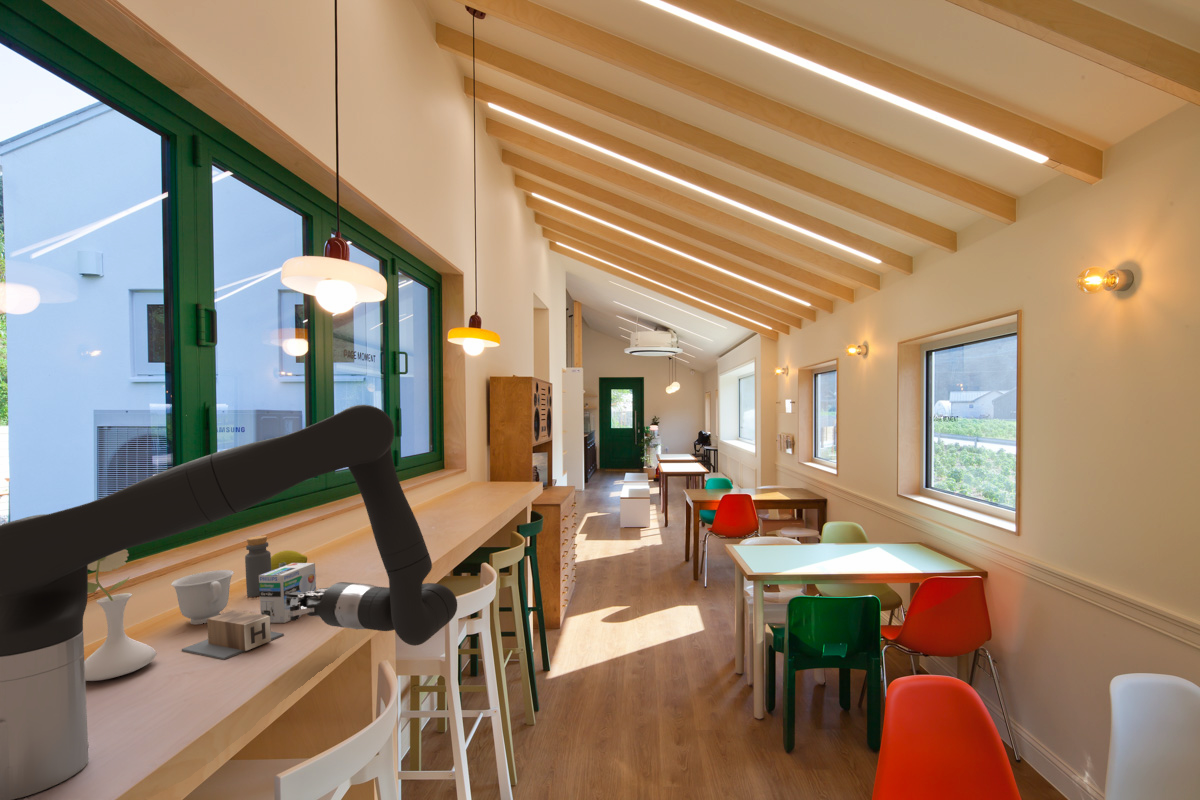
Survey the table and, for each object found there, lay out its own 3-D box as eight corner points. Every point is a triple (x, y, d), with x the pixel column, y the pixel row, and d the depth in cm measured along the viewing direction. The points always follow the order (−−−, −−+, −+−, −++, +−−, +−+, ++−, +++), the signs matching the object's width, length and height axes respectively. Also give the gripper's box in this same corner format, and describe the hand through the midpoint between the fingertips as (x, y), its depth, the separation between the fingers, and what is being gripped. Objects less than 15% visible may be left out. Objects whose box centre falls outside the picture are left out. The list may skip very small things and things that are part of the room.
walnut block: (244, 624, 108) (207, 618, 114) (246, 650, 108) (208, 643, 114) (269, 615, 113) (232, 610, 118) (271, 640, 113) (233, 634, 118)
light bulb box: (285, 623, 124) (282, 575, 124) (259, 623, 125) (256, 575, 125) (318, 606, 134) (316, 561, 135) (294, 606, 136) (292, 562, 136)
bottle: (248, 593, 150) (245, 537, 151) (273, 588, 153) (270, 533, 153) (245, 598, 145) (242, 541, 145) (271, 594, 147) (268, 537, 148)
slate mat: (283, 635, 116) (283, 633, 116) (224, 659, 106) (224, 657, 106) (242, 628, 122) (242, 626, 123) (181, 650, 112) (181, 648, 112)
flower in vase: (172, 657, 109) (166, 528, 109) (120, 686, 97) (113, 542, 98) (107, 661, 109) (101, 533, 110) (47, 690, 98) (41, 546, 98)
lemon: (260, 583, 159) (259, 555, 159) (275, 575, 167) (274, 549, 167) (299, 580, 160) (297, 552, 160) (312, 573, 167) (310, 546, 168)
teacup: (187, 636, 120) (185, 589, 120) (165, 624, 129) (163, 580, 129) (249, 617, 129) (247, 574, 130) (225, 607, 138) (223, 567, 139)
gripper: (382, 573, 105) (319, 568, 113) (321, 596, 93) (254, 589, 101) (385, 613, 105) (321, 606, 112) (323, 641, 93) (257, 631, 100)
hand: (290, 598), depth 106 cm, fingers closed
